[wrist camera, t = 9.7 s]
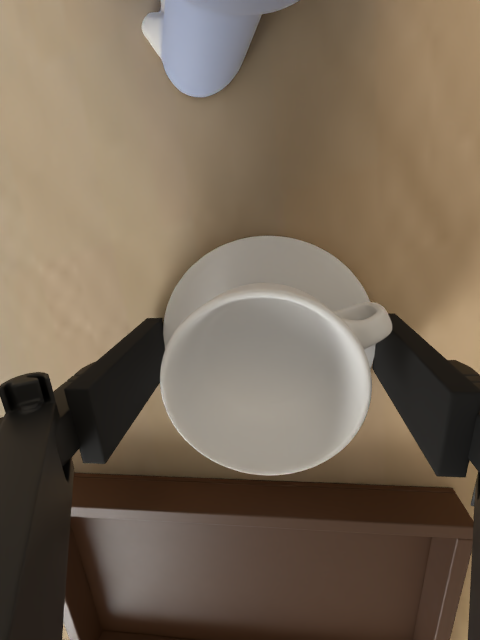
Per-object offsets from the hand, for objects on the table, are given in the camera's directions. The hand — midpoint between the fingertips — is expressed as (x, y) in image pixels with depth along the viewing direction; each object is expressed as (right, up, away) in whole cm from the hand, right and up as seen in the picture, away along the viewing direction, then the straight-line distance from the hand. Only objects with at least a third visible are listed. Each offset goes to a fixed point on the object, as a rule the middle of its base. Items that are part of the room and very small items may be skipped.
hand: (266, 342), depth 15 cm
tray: (-1, -15, +6) cm, 17 cm away
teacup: (0, 0, 0) cm, 1 cm away
